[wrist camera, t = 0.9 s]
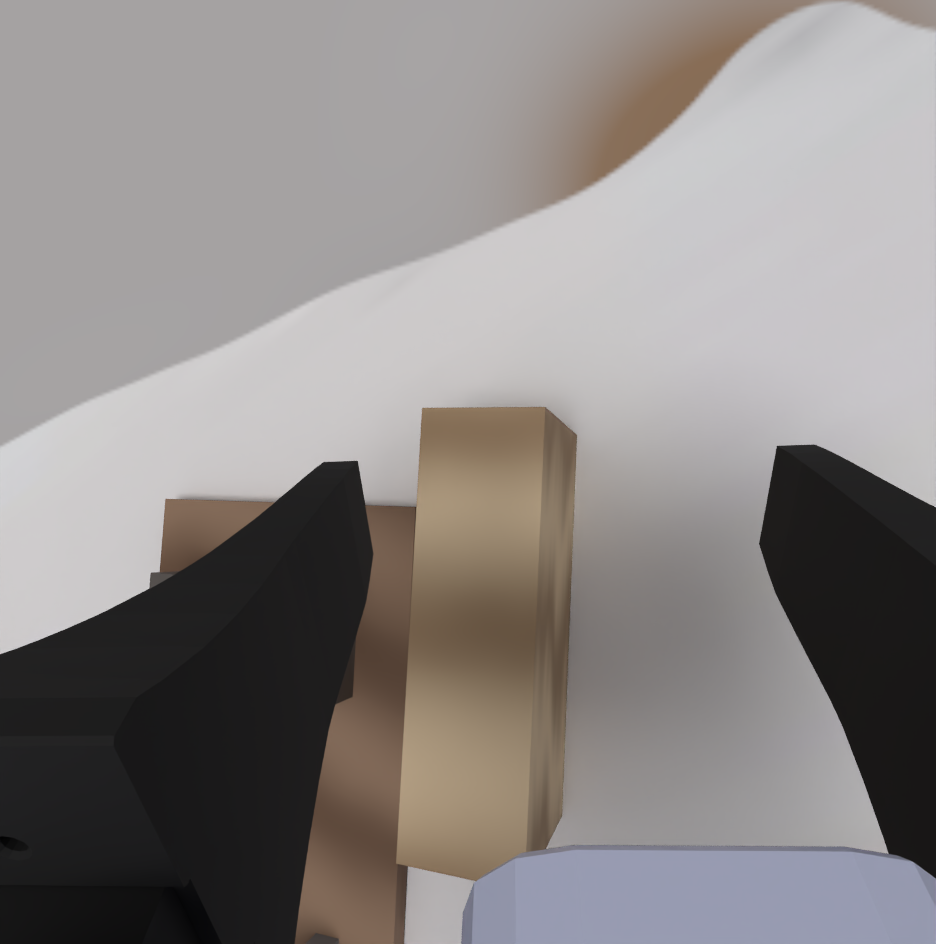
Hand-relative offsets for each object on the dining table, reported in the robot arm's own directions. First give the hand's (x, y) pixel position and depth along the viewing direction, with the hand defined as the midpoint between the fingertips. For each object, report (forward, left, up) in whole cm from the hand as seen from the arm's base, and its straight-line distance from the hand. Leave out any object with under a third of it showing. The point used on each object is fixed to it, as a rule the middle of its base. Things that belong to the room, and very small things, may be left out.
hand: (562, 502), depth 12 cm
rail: (-4, +4, -14) cm, 15 cm away
